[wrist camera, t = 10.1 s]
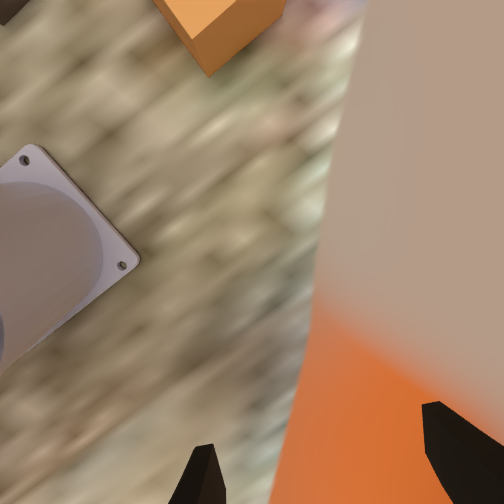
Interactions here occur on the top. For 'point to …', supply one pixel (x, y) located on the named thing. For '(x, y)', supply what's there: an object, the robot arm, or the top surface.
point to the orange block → (218, 26)
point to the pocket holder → (10, 9)
